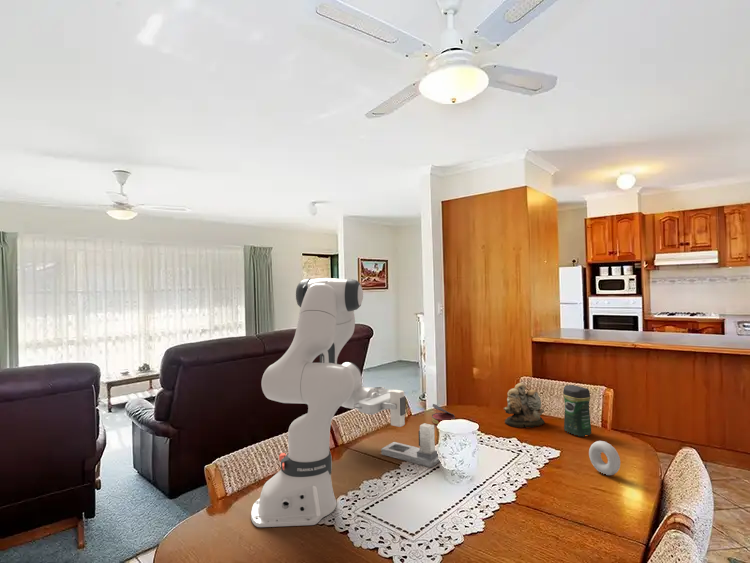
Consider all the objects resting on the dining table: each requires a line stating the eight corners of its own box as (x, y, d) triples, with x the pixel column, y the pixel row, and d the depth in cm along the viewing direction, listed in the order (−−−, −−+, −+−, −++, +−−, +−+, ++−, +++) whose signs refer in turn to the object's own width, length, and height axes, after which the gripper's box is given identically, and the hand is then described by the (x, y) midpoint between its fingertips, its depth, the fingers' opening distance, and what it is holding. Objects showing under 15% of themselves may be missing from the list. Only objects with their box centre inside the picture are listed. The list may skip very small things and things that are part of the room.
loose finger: (390, 424, 151) (390, 391, 151) (395, 422, 153) (394, 389, 153) (401, 427, 148) (400, 393, 148) (406, 424, 150) (405, 391, 150)
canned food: (433, 431, 187) (431, 408, 192) (456, 429, 185) (453, 406, 190) (431, 426, 177) (429, 402, 182) (455, 424, 176) (452, 400, 181)
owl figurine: (512, 430, 173) (510, 388, 173) (497, 421, 184) (496, 382, 184) (551, 425, 177) (549, 384, 177) (534, 417, 188) (532, 379, 188)
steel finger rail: (381, 454, 150) (380, 420, 150) (394, 447, 156) (393, 414, 157) (431, 467, 138) (430, 430, 138) (442, 459, 144) (441, 424, 145)
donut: (623, 479, 127) (622, 446, 127) (615, 481, 125) (614, 448, 126) (594, 466, 136) (593, 435, 136) (586, 468, 135) (585, 437, 135)
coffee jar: (595, 435, 164) (594, 387, 164) (579, 438, 161) (578, 389, 161) (576, 428, 173) (574, 382, 173) (560, 430, 170) (559, 384, 170)
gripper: (350, 397, 150) (382, 403, 142) (383, 385, 166) (414, 390, 158) (350, 415, 150) (382, 422, 142) (384, 401, 166) (414, 407, 158)
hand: (399, 405), depth 150 cm, fingers closed on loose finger, 3 cm apart
